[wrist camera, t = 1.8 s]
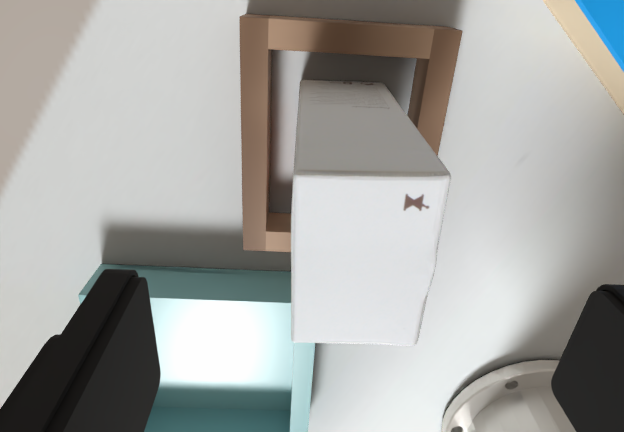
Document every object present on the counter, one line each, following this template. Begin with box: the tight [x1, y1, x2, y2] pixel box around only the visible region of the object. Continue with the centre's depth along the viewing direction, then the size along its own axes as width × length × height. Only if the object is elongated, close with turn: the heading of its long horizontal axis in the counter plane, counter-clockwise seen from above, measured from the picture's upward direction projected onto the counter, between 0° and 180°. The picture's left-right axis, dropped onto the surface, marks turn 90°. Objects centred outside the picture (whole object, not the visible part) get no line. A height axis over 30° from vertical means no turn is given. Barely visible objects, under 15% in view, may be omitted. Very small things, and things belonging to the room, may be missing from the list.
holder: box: [240, 14, 462, 252], centre depth 22 cm, size 9×11×2 cm
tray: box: [78, 264, 315, 432], centre depth 28 cm, size 13×13×3 cm
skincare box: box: [291, 80, 451, 346], centre depth 18 cm, size 6×4×12 cm
